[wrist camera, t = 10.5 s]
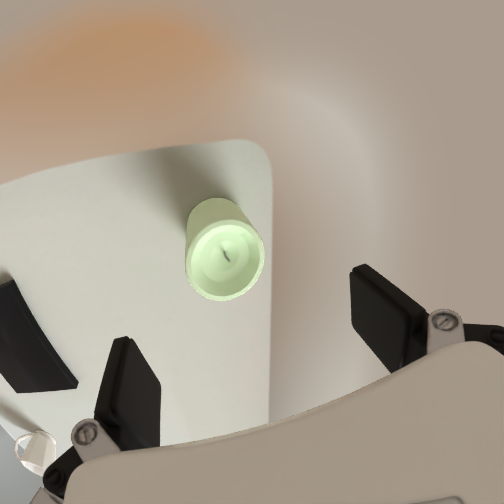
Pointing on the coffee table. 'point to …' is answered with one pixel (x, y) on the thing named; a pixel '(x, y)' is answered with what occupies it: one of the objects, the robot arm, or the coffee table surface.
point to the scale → (28, 349)
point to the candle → (221, 250)
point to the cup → (37, 451)
